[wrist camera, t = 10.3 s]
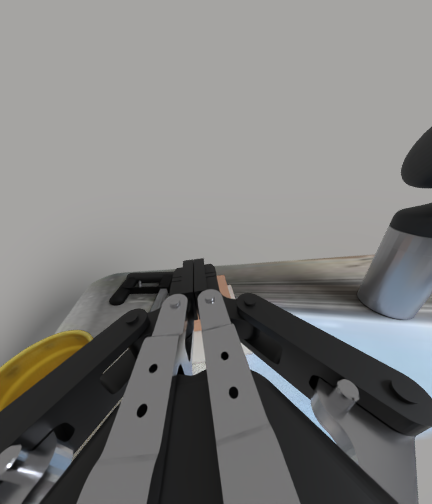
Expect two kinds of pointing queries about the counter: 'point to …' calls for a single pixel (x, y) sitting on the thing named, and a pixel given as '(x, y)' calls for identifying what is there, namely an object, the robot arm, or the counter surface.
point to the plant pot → (38, 363)
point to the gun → (135, 278)
